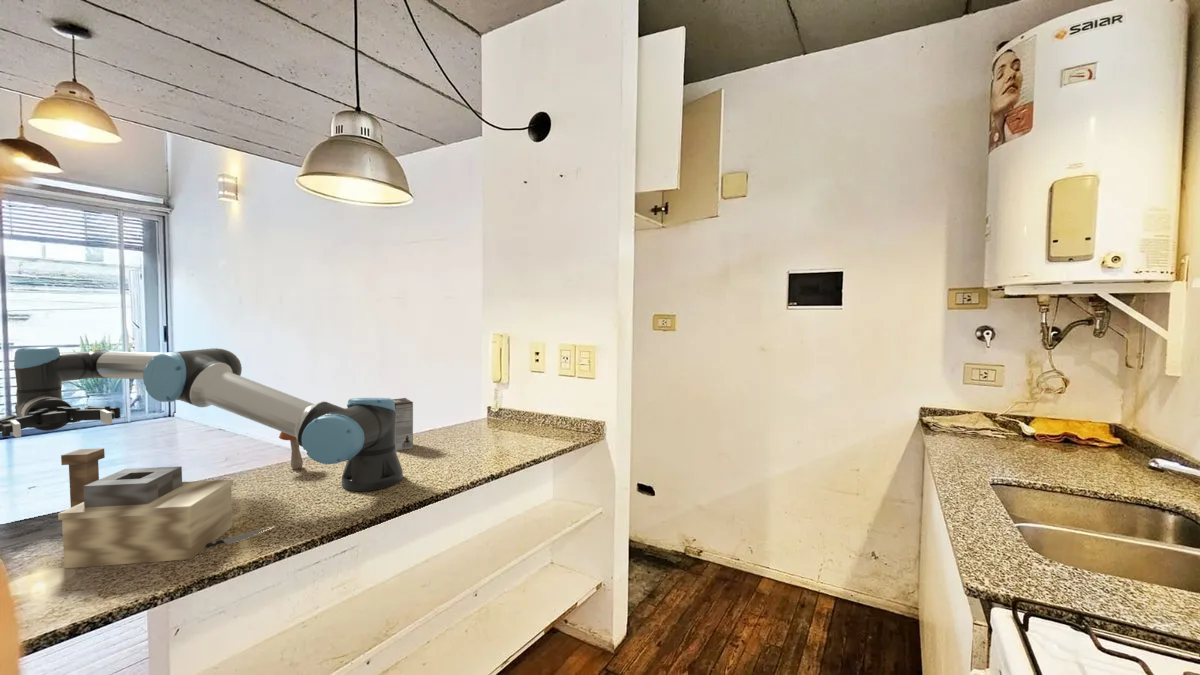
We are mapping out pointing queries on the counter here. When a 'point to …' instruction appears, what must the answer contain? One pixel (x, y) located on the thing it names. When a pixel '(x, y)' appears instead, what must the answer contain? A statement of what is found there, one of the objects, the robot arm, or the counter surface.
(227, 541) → the chef's knife
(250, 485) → the counter surface
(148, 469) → the tan two-tone block
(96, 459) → the brown t-shaped block
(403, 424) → the coffee box
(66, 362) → the robot arm
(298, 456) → the mushroom
